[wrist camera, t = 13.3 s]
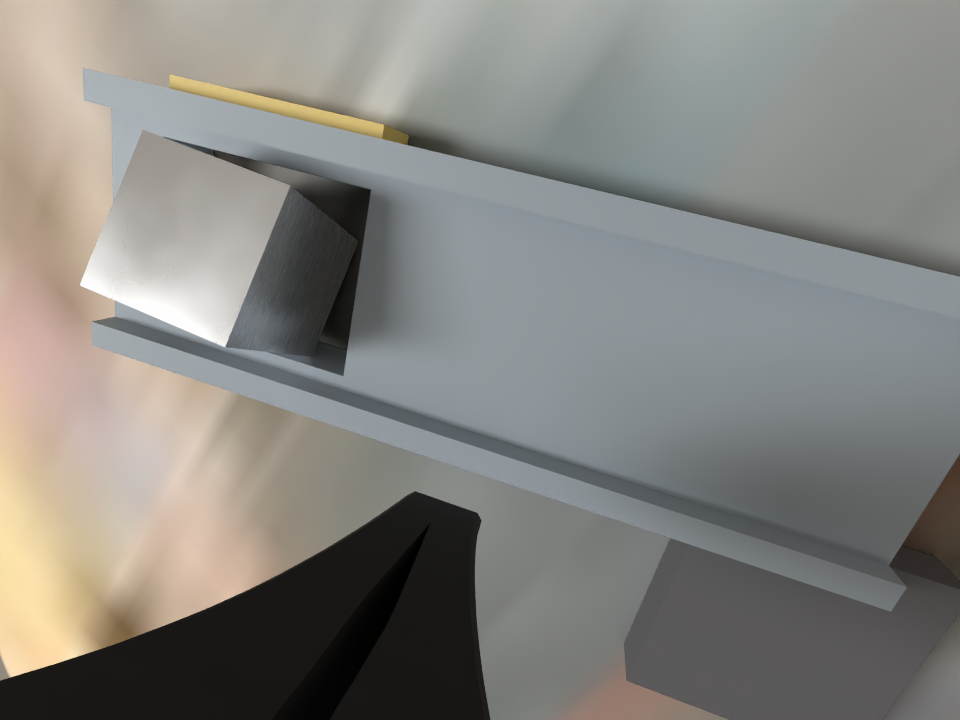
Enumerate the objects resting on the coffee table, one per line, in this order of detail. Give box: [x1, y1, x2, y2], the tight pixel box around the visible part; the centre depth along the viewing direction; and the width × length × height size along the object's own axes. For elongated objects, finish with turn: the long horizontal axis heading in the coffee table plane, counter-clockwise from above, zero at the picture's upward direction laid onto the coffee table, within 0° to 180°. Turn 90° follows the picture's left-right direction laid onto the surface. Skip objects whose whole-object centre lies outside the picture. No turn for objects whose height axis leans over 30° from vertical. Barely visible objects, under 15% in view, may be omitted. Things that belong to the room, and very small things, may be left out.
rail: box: [83, 68, 960, 612], centre depth 14 cm, size 9×24×3 cm, turn 77°
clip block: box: [80, 130, 359, 357], centre depth 14 cm, size 4×4×4 cm
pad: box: [624, 538, 960, 720], centre depth 15 cm, size 7×7×2 cm
